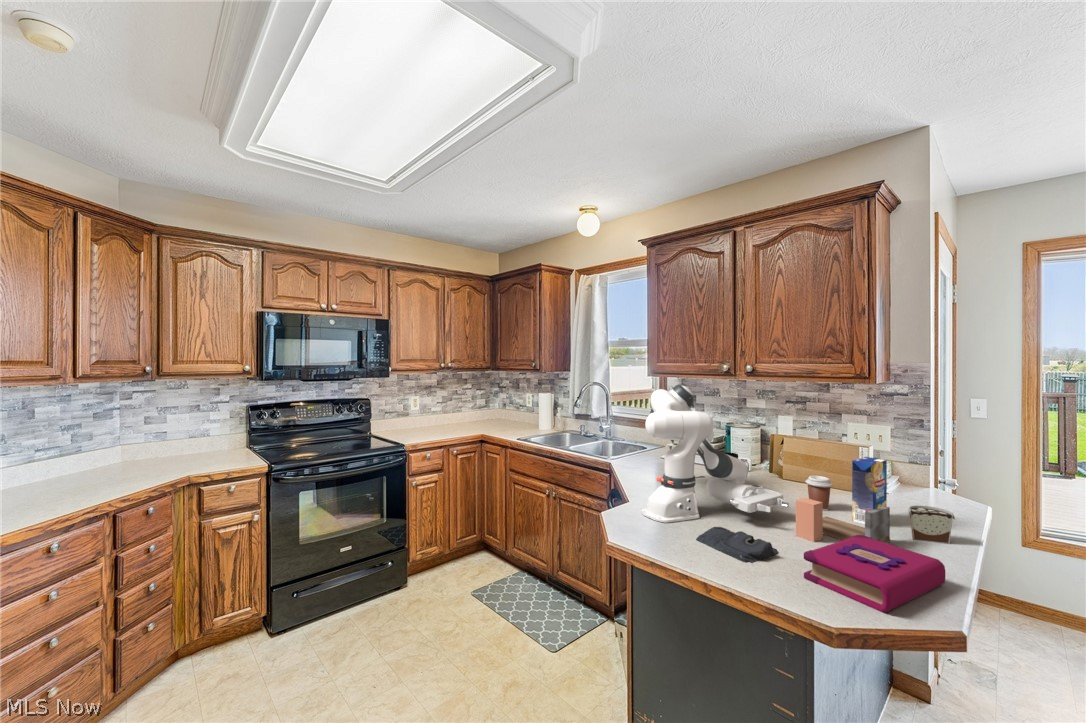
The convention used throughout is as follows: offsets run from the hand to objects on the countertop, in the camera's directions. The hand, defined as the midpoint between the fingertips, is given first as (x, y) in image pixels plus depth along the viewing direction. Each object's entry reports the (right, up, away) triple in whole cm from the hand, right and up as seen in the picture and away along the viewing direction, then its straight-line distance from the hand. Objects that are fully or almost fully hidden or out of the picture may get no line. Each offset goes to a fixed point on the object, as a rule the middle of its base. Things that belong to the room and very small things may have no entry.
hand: (779, 507), depth 162 cm
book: (+4, -8, -39) cm, 40 cm away
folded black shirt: (-22, -8, -16) cm, 28 cm away
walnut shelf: (+19, -7, -7) cm, 21 cm away
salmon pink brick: (+5, -7, -9) cm, 13 cm away
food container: (+43, -7, -11) cm, 45 cm away
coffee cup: (+26, -7, +20) cm, 33 cm away
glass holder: (+4, -6, +48) cm, 48 cm away
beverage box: (+36, -7, +6) cm, 37 cm away
